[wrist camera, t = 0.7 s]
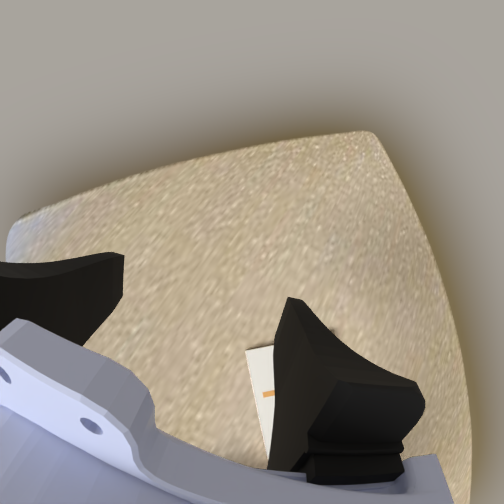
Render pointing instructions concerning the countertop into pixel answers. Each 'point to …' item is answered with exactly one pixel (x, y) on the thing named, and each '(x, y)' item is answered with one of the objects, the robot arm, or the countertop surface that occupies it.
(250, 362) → the fader console
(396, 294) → the countertop surface
